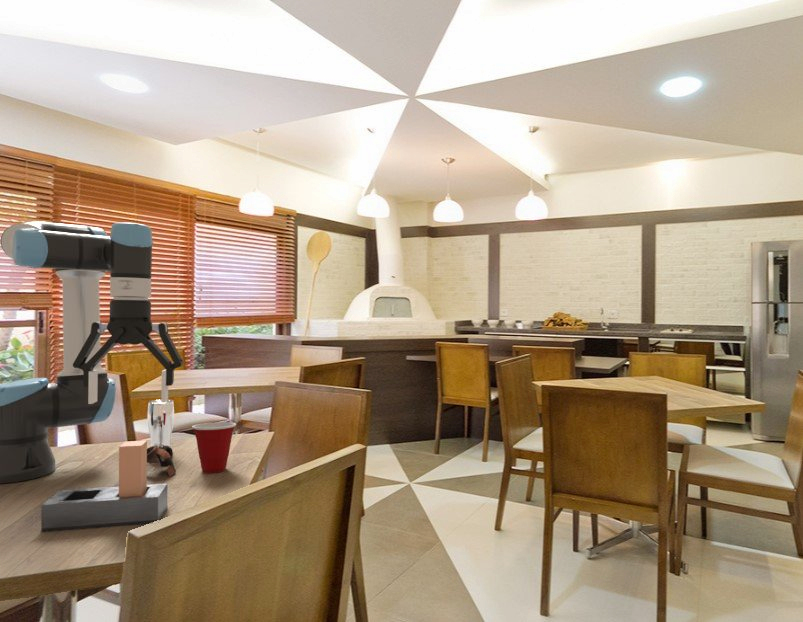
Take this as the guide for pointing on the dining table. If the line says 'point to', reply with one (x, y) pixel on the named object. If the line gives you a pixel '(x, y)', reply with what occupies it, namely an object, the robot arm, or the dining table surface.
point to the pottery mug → (161, 457)
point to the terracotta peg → (133, 468)
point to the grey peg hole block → (102, 508)
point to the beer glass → (160, 422)
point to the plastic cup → (214, 445)
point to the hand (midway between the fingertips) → (129, 402)
